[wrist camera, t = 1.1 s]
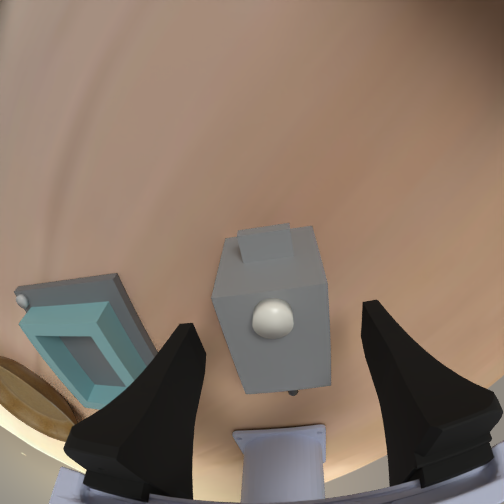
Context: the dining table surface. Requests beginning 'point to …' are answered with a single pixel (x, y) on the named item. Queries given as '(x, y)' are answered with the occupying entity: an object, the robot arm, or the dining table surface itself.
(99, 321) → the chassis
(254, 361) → the block
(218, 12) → the dining table surface
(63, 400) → the plant saucer
